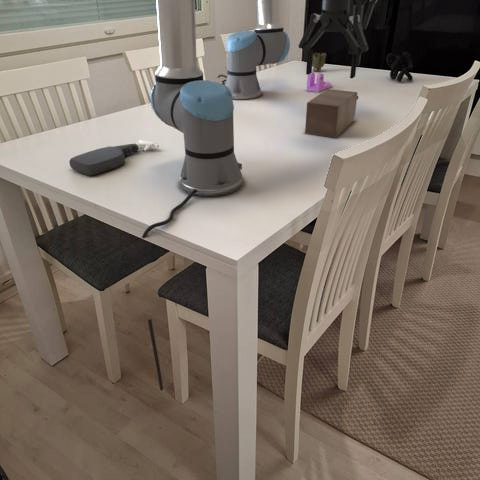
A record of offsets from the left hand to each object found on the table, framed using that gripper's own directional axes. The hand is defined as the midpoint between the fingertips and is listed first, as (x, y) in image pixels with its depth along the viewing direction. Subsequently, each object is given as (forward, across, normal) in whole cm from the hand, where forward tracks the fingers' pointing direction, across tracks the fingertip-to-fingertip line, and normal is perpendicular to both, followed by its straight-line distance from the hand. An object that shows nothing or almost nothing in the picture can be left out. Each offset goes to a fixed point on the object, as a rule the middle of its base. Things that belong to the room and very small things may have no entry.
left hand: (330, 75), depth 133 cm
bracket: (+18, +21, -53) cm, 59 cm away
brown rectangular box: (+17, 0, -5) cm, 18 cm away
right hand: (-3, 0, -21) cm, 21 cm away
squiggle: (+18, -6, -82) cm, 84 cm away
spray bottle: (+16, +44, +49) cm, 68 cm away
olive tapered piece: (+18, +34, -85) cm, 93 cm away
